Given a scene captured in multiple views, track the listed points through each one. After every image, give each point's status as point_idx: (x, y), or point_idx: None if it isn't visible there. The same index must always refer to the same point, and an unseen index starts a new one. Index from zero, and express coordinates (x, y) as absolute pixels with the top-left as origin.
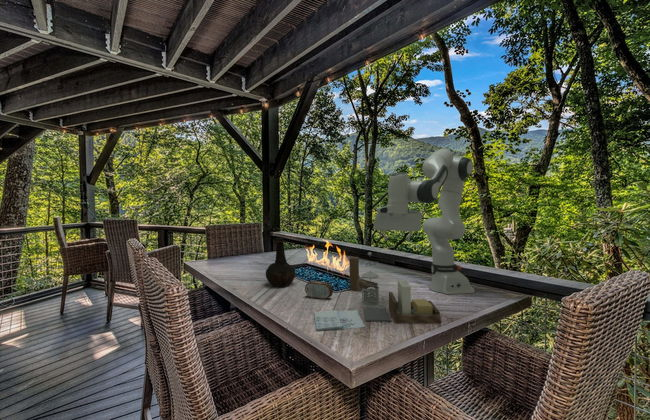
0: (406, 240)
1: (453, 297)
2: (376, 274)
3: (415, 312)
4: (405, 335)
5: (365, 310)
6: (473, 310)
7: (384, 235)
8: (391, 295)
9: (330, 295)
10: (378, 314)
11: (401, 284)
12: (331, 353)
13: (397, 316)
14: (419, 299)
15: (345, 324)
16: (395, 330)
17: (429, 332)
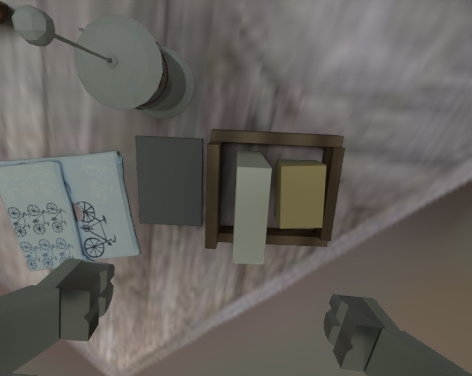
0: (329, 336)
1: (468, 22)
2: (147, 75)
3: (276, 192)
4: (222, 292)
5: (140, 155)
6: (451, 156)
7: (30, 352)
8: (210, 184)
9: (2, 21)
10: (175, 187)
11: (237, 234)
12: (80, 349)
13: (217, 241)
14: (304, 170)
15: (92, 240)
16: (206, 270)
17: (275, 281)
